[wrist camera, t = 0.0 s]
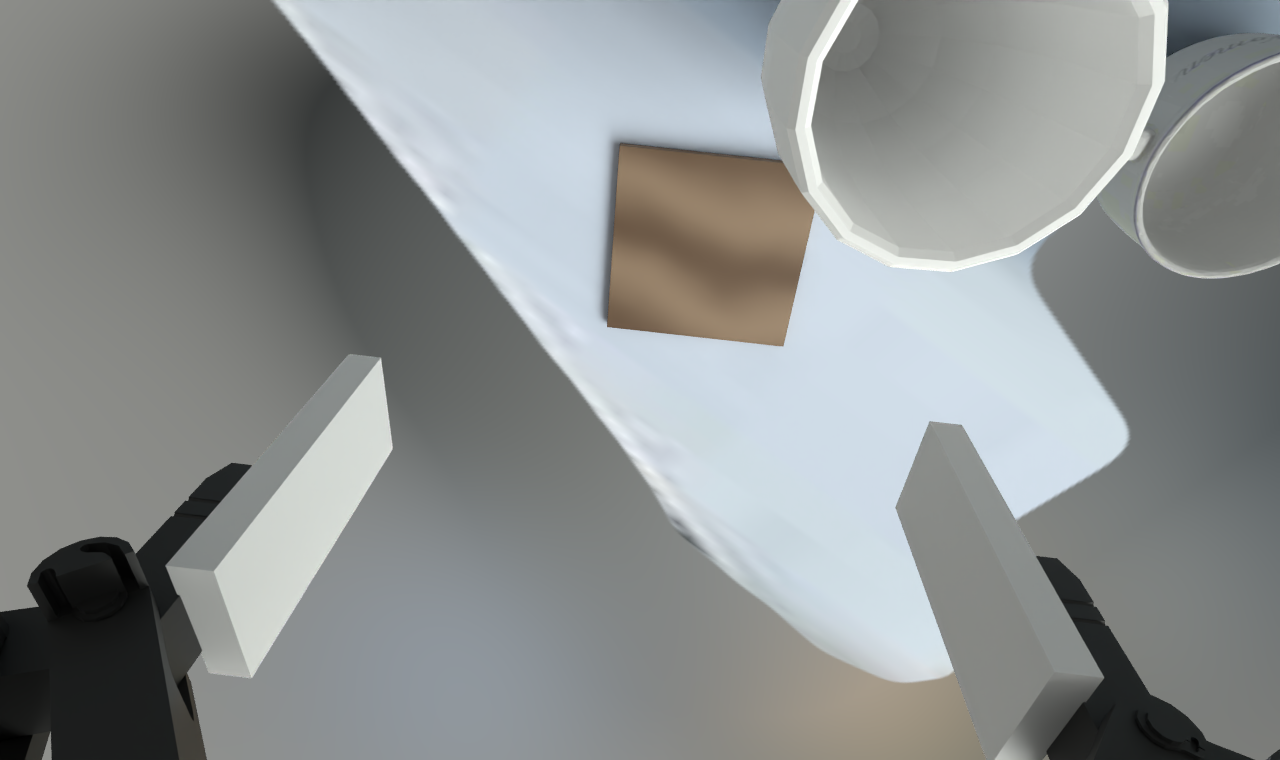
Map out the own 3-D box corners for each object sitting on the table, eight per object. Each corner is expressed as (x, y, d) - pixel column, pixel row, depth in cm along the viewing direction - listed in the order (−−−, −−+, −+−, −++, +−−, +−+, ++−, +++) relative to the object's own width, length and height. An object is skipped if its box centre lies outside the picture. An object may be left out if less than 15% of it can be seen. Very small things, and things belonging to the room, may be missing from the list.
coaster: (620, 143, 40) (619, 145, 40) (822, 164, 40) (824, 167, 40) (608, 322, 47) (607, 326, 46) (782, 342, 46) (783, 346, 46)
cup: (702, -10, 36) (708, 27, 18) (896, -137, 32) (1152, -253, 14) (784, 165, 40) (856, 340, 22) (962, 69, 37) (1220, 182, 19)
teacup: (1330, 74, 36) (1478, 102, 29) (1175, 254, 41) (1268, 313, 35) (1106, -34, 34) (1208, -31, 27) (976, 170, 40) (1033, 214, 33)
